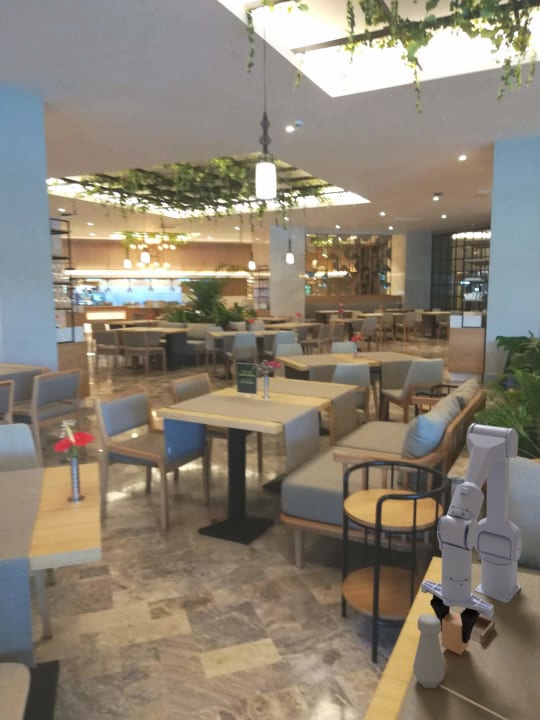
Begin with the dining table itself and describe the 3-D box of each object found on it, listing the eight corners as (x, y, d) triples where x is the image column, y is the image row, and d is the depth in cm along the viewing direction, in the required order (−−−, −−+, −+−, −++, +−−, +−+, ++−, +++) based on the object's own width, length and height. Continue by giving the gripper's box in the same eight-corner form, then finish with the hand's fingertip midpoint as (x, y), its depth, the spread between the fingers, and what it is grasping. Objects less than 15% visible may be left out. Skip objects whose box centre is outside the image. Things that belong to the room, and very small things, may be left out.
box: (463, 617, 121) (463, 608, 121) (494, 630, 116) (494, 621, 116) (450, 631, 116) (450, 622, 116) (482, 645, 112) (482, 635, 111)
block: (450, 636, 113) (450, 610, 112) (468, 645, 110) (469, 618, 109) (441, 646, 110) (442, 619, 109) (460, 654, 107) (460, 627, 106)
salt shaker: (446, 694, 98) (447, 629, 97) (414, 690, 100) (414, 626, 98) (442, 672, 104) (443, 610, 102) (412, 669, 105) (412, 608, 104)
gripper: (414, 569, 110) (413, 630, 112) (484, 595, 100) (482, 661, 102) (430, 556, 115) (429, 615, 117) (498, 580, 105) (496, 643, 107)
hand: (455, 635), depth 110 cm, fingers closed on block, 4 cm apart
